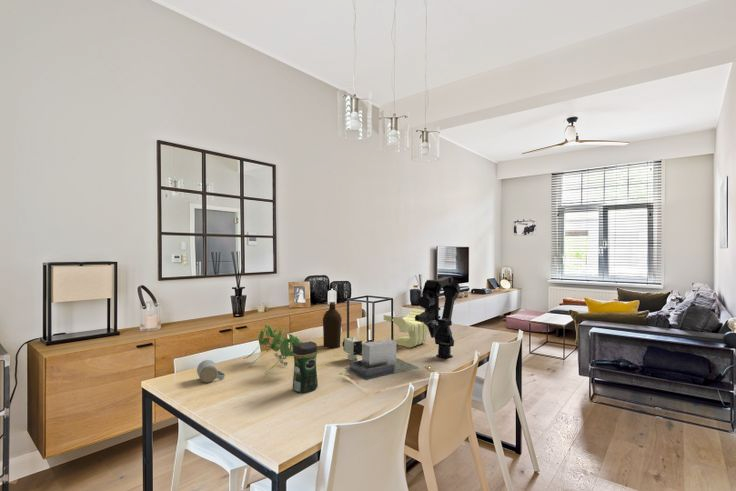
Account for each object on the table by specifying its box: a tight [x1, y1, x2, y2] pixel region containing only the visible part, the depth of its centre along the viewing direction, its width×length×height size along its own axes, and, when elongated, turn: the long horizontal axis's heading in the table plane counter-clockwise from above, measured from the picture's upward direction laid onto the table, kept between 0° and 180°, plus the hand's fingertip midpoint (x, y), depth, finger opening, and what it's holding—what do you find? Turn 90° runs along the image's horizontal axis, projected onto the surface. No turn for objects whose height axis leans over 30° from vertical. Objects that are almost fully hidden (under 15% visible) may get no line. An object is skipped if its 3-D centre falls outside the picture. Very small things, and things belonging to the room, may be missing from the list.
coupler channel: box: [344, 357, 420, 381], centre depth 170 cm, size 30×18×4 cm, turn 123°
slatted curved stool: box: [383, 308, 428, 348], centre depth 217 cm, size 30×16×18 cm, turn 139°
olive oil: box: [322, 301, 343, 349], centre depth 210 cm, size 11×11×25 cm
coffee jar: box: [292, 340, 318, 394], centre depth 147 cm, size 10×8×19 cm
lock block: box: [361, 338, 397, 369], centre depth 170 cm, size 16×6×12 cm, turn 123°
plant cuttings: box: [243, 324, 304, 374], centre depth 172 cm, size 35×17×22 cm
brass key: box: [424, 365, 435, 373], centre depth 169 cm, size 8×3×1 cm, turn 11°
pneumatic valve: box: [341, 337, 363, 362], centre depth 183 cm, size 6×12×12 cm, turn 39°
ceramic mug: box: [196, 359, 226, 384], centre depth 156 cm, size 11×8×8 cm
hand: (432, 337), depth 179 cm, fingers closed
